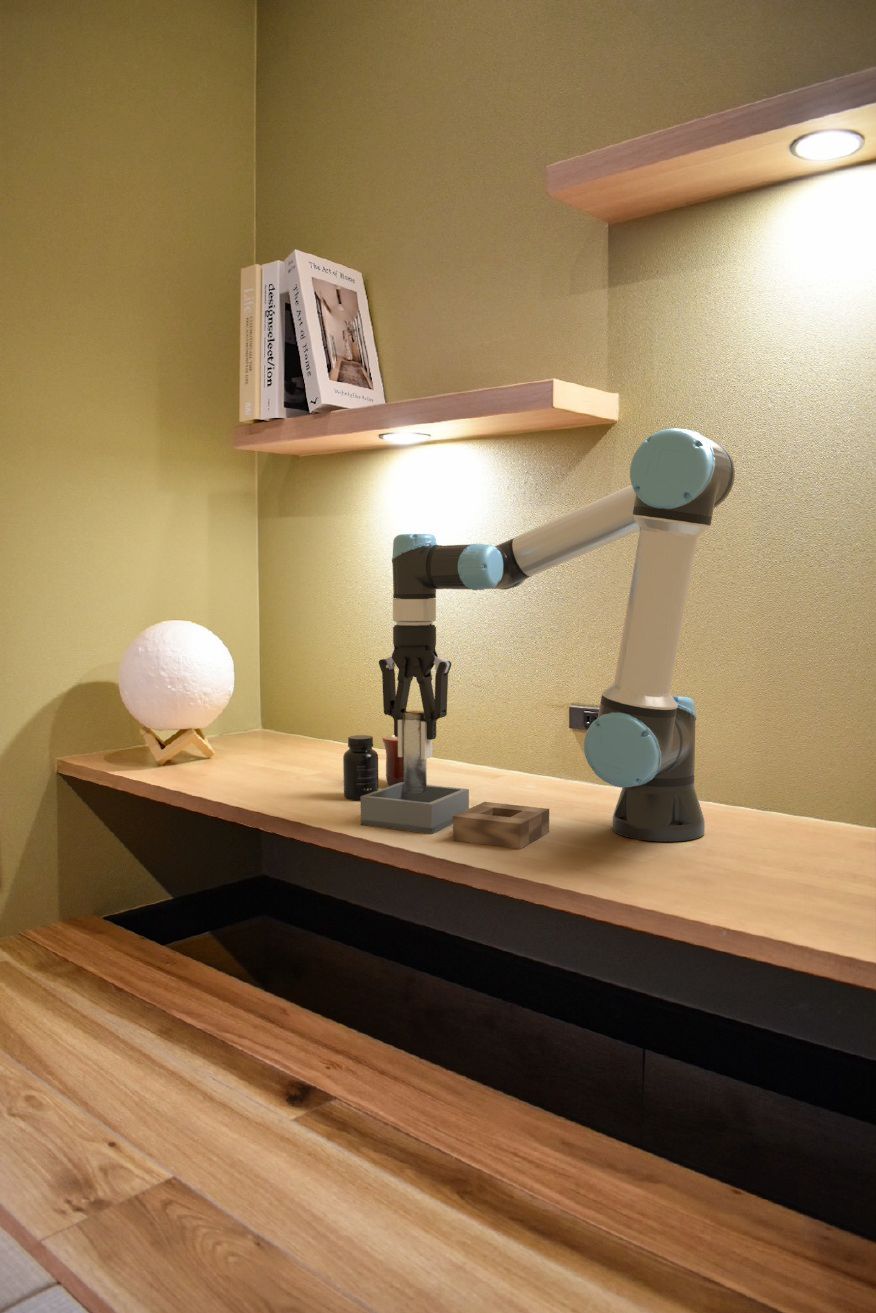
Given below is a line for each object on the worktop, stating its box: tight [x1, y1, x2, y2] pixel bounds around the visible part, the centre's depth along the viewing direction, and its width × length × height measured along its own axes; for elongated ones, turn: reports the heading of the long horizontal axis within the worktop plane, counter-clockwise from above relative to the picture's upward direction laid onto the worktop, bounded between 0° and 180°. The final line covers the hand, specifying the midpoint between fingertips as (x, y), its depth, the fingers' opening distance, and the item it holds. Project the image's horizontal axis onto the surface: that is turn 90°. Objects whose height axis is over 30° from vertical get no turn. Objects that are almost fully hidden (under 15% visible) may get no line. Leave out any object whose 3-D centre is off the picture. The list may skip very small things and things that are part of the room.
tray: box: [360, 782, 470, 835], centre depth 179 cm, size 14×14×5 cm
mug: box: [381, 734, 404, 787], centre depth 210 cm, size 12×9×10 cm
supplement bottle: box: [342, 734, 380, 802], centre depth 198 cm, size 7×7×12 cm
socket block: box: [452, 801, 550, 850], centre depth 168 cm, size 12×12×4 cm
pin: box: [403, 709, 428, 793], centre depth 178 cm, size 4×4×14 cm
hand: (415, 756), depth 178 cm, fingers closed on pin, 4 cm apart
